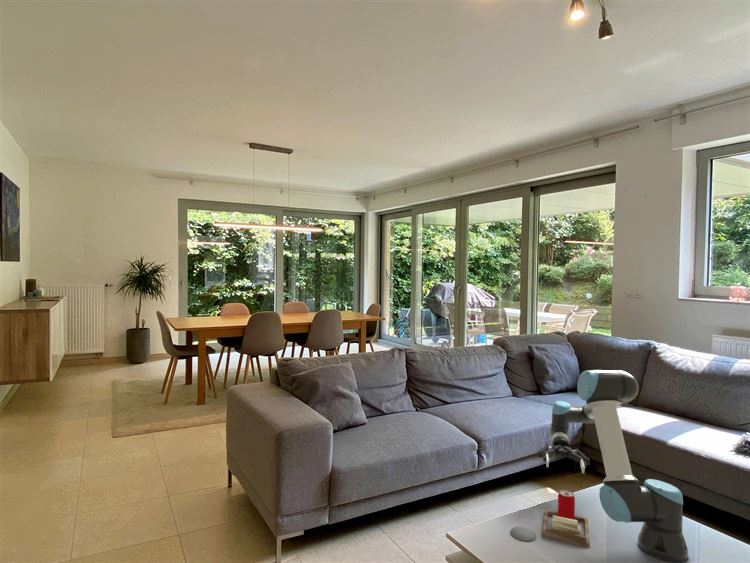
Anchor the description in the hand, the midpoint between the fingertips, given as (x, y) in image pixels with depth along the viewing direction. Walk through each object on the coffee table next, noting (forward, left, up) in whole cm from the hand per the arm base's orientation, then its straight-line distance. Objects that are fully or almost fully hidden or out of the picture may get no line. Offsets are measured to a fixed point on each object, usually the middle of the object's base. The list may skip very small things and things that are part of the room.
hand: (565, 467), depth 185 cm
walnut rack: (-10, +5, -20) cm, 23 cm away
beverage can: (-6, +3, -20) cm, 21 cm away
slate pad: (-13, +24, -20) cm, 33 cm away
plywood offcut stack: (-15, +8, -20) cm, 26 cm away
